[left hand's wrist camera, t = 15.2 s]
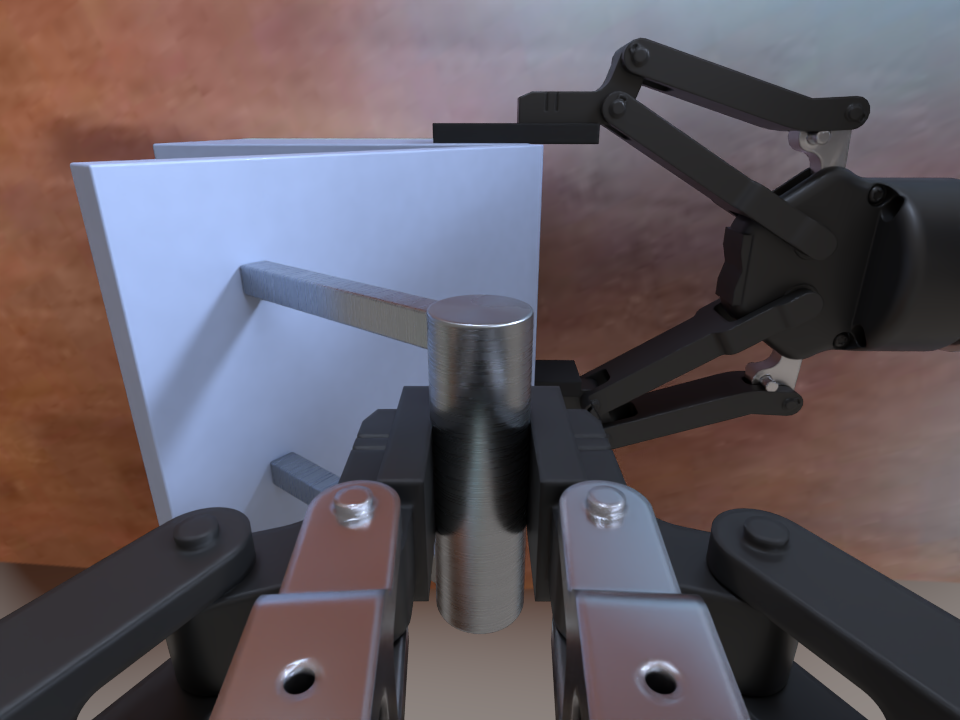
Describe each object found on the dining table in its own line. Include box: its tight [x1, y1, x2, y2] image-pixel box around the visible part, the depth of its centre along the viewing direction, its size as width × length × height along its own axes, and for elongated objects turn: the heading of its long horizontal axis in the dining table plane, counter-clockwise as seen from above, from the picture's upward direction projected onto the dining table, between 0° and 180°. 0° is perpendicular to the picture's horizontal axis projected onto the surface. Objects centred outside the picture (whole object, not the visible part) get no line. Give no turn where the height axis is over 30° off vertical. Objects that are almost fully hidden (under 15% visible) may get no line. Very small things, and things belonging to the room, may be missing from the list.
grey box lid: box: [70, 144, 543, 634], centre depth 16 cm, size 15×10×8 cm
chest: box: [153, 139, 529, 159], centre depth 28 cm, size 14×10×9 cm
